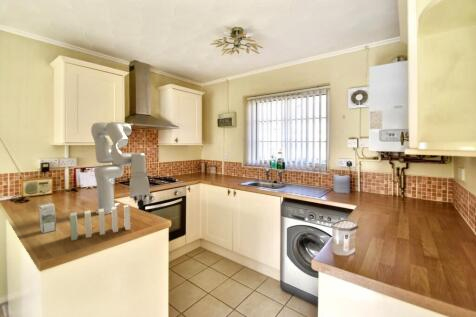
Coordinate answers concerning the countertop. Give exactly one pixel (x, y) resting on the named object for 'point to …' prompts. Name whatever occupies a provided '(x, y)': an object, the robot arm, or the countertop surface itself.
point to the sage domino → (73, 226)
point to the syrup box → (47, 217)
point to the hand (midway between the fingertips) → (140, 207)
